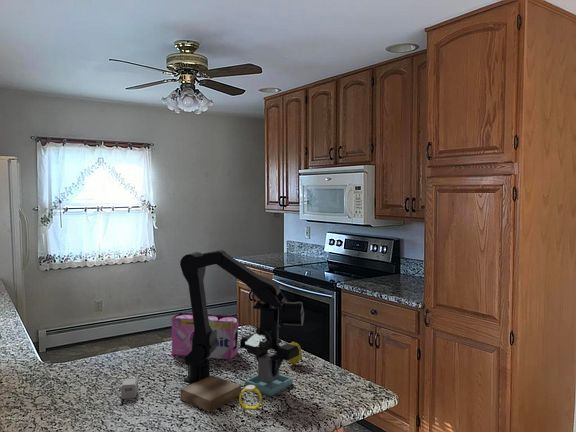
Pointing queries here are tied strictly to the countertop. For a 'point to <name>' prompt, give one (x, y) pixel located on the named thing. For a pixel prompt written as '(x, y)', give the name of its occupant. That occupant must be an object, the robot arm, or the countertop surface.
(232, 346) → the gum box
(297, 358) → the lemon
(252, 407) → the watch
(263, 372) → the plug block
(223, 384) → the walnut dock
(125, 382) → the usb wall charger
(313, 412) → the countertop surface
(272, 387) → the teal tray
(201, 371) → the robot arm
